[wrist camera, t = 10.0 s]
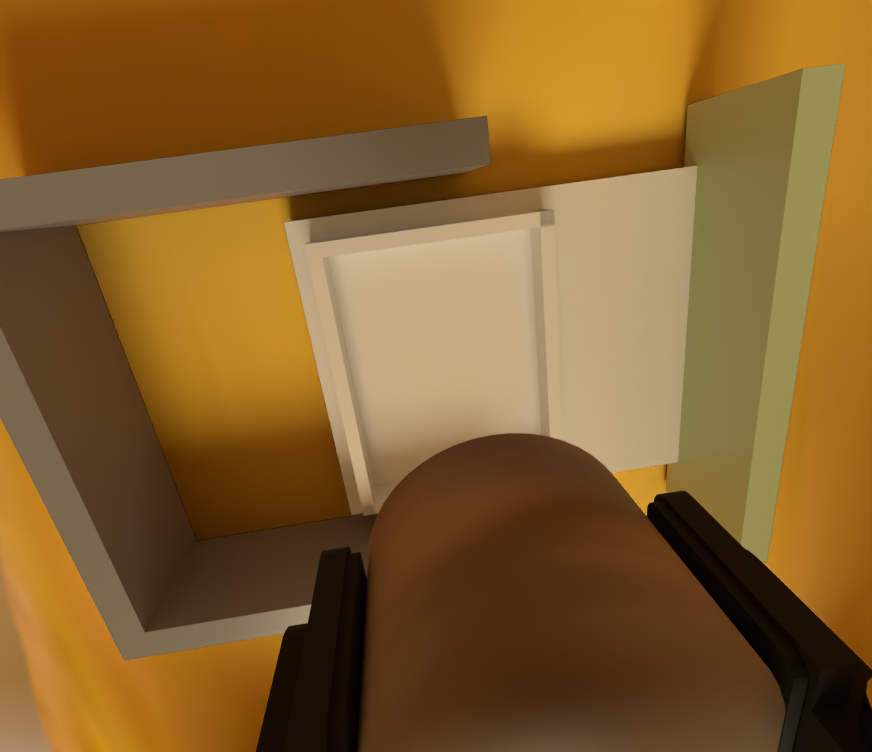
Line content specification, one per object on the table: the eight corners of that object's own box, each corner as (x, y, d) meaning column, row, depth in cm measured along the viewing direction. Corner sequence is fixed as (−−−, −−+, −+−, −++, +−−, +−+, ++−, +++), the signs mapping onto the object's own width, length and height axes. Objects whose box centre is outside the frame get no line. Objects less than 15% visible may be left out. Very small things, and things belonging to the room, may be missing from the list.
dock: (460, 138, 21) (487, 115, 15) (497, 512, 28) (524, 592, 22) (28, 195, 20) (-114, 194, 14) (179, 564, 27) (124, 660, 21)
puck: (634, 411, 10) (819, 575, 6) (628, 625, 12) (758, 858, 8) (344, 458, 10) (308, 665, 5) (391, 668, 12) (393, 932, 7)
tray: (718, 100, 21) (845, 63, 15) (689, 486, 28) (767, 561, 22) (274, 159, 20) (227, 144, 14) (361, 540, 27) (352, 632, 21)
